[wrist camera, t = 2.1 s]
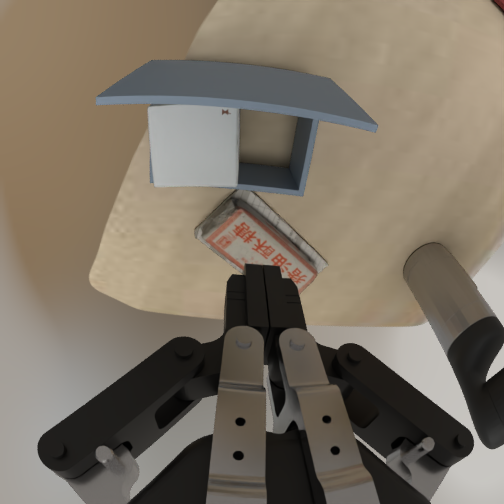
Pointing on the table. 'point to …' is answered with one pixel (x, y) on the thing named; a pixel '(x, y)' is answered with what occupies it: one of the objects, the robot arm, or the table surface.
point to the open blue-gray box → (279, 177)
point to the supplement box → (194, 145)
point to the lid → (238, 90)
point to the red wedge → (500, 3)
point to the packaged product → (258, 239)
